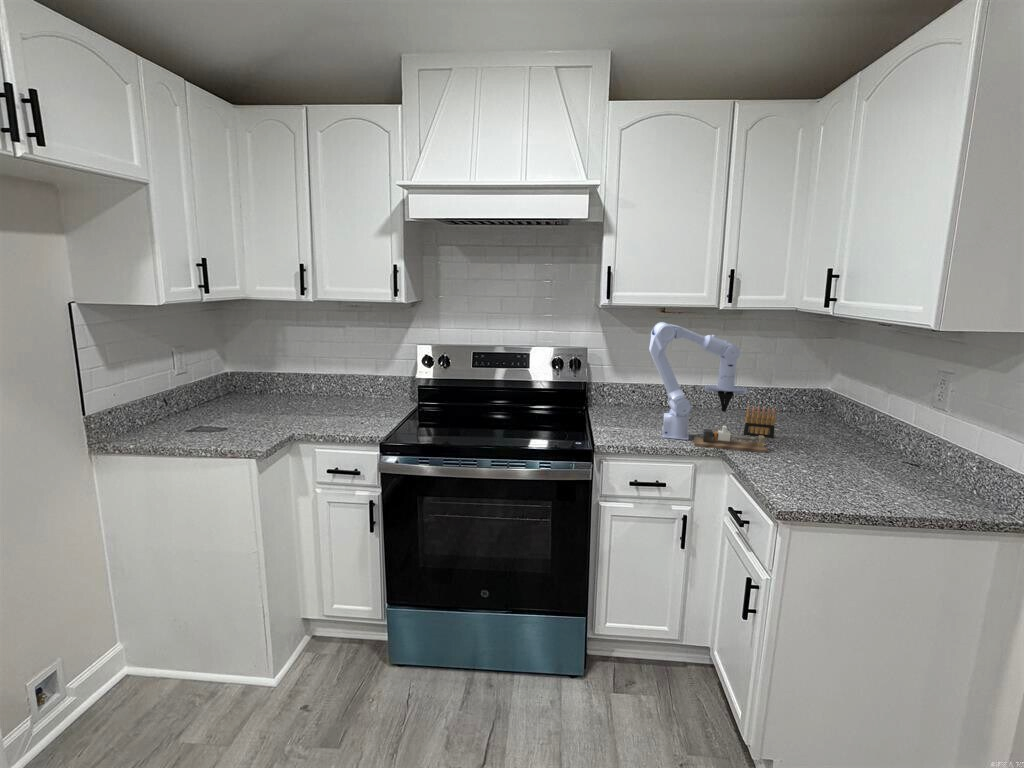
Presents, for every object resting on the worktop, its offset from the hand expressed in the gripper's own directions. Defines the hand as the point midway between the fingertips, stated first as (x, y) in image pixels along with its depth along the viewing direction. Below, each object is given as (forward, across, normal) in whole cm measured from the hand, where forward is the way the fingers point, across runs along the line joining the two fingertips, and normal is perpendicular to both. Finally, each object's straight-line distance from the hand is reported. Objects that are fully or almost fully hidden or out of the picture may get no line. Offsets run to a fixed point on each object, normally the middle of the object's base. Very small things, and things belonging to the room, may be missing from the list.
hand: (723, 411), depth 208 cm
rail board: (+10, +2, -10) cm, 15 cm away
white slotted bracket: (+8, 0, -10) cm, 13 cm away
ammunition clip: (+11, +14, +7) cm, 19 cm away
